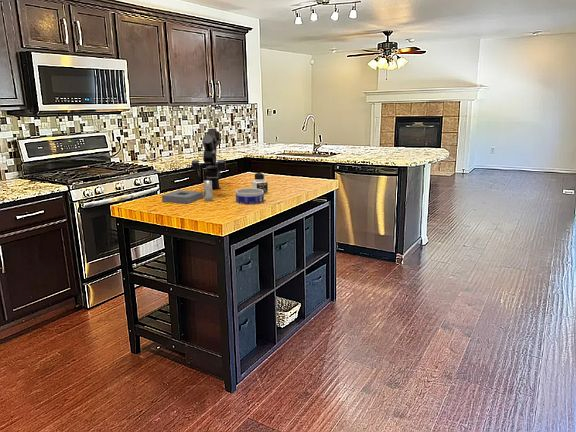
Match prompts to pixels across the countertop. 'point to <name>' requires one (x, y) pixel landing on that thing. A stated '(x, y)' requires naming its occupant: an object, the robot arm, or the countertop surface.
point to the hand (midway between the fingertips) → (208, 176)
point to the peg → (208, 190)
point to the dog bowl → (249, 195)
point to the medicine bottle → (260, 182)
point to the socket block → (182, 196)
